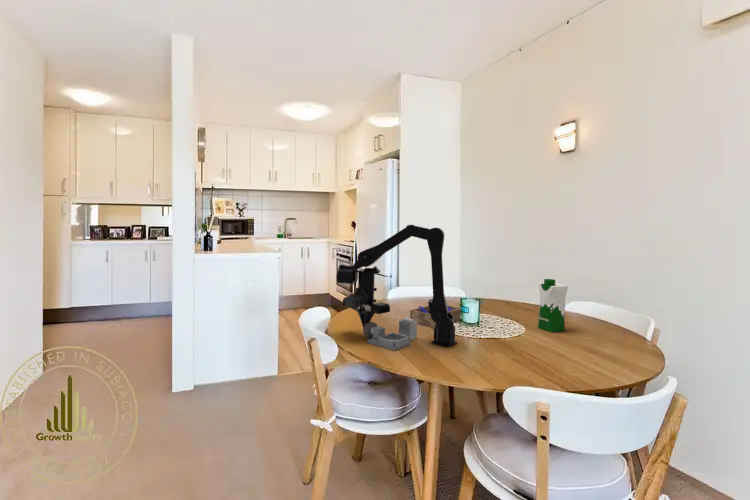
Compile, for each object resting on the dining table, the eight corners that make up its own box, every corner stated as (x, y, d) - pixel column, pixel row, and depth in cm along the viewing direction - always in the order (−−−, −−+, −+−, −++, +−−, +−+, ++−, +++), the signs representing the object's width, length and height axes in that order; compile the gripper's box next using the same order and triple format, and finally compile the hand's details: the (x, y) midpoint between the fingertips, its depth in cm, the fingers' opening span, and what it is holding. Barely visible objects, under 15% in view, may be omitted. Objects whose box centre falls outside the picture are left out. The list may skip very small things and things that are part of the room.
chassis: (410, 345, 136) (410, 331, 135) (393, 350, 129) (394, 336, 129) (380, 336, 145) (381, 324, 145) (364, 341, 139) (364, 328, 138)
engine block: (416, 338, 144) (417, 319, 144) (409, 340, 141) (410, 321, 141) (405, 335, 148) (406, 317, 147) (398, 337, 145) (399, 318, 144)
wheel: (377, 336, 144) (378, 321, 143) (367, 339, 140) (367, 324, 139) (372, 335, 145) (373, 320, 145) (362, 338, 141) (362, 322, 141)
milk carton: (534, 327, 162) (536, 278, 160) (551, 325, 165) (554, 277, 164) (551, 333, 154) (553, 281, 152) (568, 331, 157) (571, 280, 156)
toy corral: (461, 319, 172) (462, 308, 172) (435, 328, 158) (435, 315, 158) (437, 314, 181) (437, 303, 181) (410, 322, 167) (410, 310, 166)
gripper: (331, 283, 143) (330, 326, 145) (369, 291, 131) (367, 338, 132) (354, 280, 152) (353, 321, 153) (391, 287, 139) (390, 332, 140)
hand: (365, 328), depth 144 cm, fingers closed
